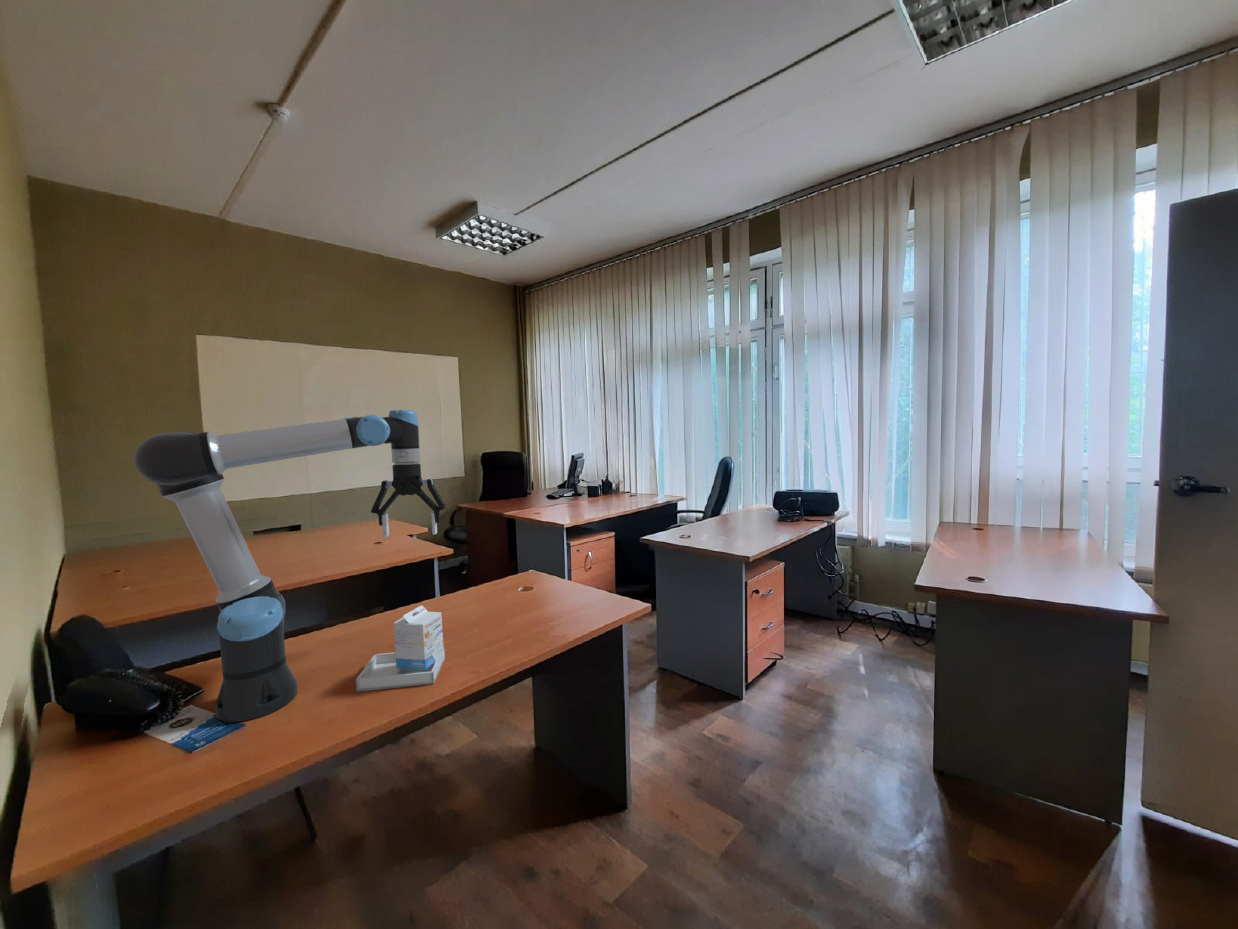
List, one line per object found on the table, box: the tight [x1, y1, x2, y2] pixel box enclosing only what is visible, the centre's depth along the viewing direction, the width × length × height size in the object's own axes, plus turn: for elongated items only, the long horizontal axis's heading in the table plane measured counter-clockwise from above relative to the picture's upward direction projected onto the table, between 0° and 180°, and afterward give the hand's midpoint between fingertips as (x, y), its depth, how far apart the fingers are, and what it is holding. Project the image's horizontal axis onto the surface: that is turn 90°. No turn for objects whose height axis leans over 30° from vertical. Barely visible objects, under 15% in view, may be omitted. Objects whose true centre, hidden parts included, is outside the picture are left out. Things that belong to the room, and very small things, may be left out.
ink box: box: [393, 605, 445, 670], centre depth 122 cm, size 9×8×13 cm
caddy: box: [355, 650, 446, 693], centre depth 122 cm, size 18×13×3 cm
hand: (410, 535), depth 140 cm, fingers open, 13 cm apart
